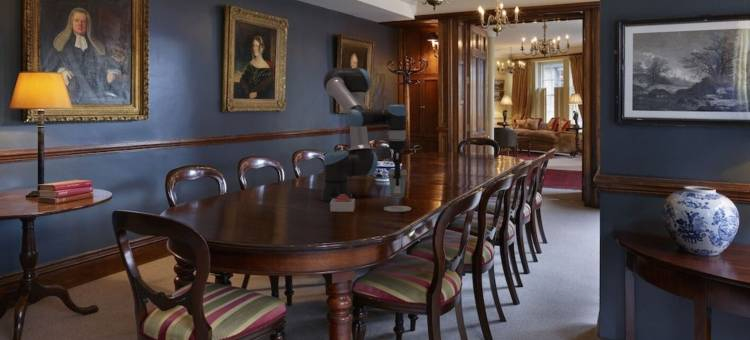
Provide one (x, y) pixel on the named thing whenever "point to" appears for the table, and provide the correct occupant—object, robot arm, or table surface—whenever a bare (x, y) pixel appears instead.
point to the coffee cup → (403, 182)
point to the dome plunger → (343, 198)
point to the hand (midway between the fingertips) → (397, 191)
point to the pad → (397, 208)
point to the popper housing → (342, 206)
